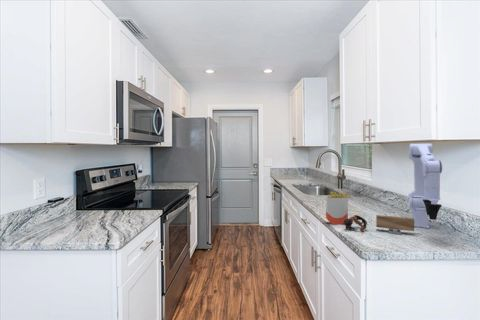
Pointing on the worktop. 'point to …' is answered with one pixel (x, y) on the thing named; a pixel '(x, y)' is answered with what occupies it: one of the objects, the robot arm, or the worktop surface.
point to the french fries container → (337, 208)
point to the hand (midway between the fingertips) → (431, 217)
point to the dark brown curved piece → (350, 221)
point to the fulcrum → (394, 231)
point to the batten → (395, 222)
